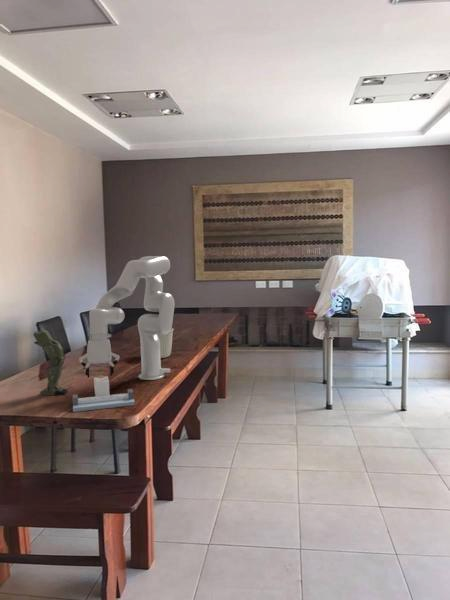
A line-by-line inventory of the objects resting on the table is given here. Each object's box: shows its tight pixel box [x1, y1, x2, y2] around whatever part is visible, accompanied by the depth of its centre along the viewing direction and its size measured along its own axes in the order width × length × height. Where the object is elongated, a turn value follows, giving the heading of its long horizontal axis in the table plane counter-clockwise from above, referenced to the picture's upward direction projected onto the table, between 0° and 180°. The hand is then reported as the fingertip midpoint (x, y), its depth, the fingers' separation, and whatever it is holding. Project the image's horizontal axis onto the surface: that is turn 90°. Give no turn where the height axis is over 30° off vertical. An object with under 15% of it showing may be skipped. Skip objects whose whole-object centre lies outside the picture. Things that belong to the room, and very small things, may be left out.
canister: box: [157, 326, 174, 359], centre depth 284 cm, size 18×18×21 cm
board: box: [72, 398, 136, 413], centre depth 196 cm, size 24×12×2 cm, turn 107°
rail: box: [72, 388, 135, 407], centre depth 196 cm, size 24×5×3 cm, turn 107°
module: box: [93, 374, 111, 397], centre depth 209 cm, size 6×8×8 cm
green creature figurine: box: [32, 329, 69, 396], centre depth 212 cm, size 14×7×30 cm, turn 92°
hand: (99, 376), depth 208 cm, fingers open, 9 cm apart
